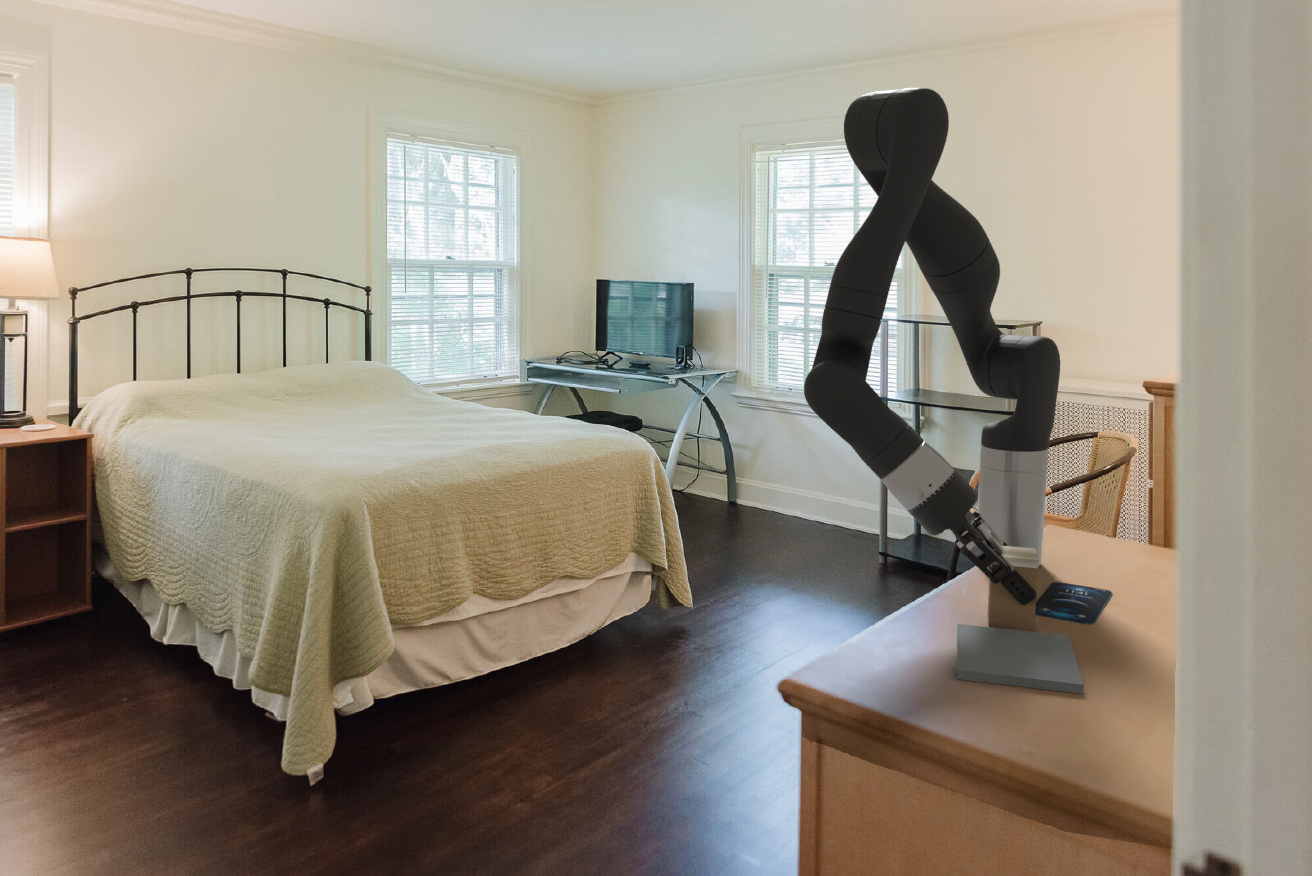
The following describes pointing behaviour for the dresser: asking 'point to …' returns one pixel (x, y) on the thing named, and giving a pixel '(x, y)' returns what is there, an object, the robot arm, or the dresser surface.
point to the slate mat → (1017, 658)
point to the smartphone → (1072, 602)
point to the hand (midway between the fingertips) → (1028, 592)
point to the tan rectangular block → (1002, 603)
